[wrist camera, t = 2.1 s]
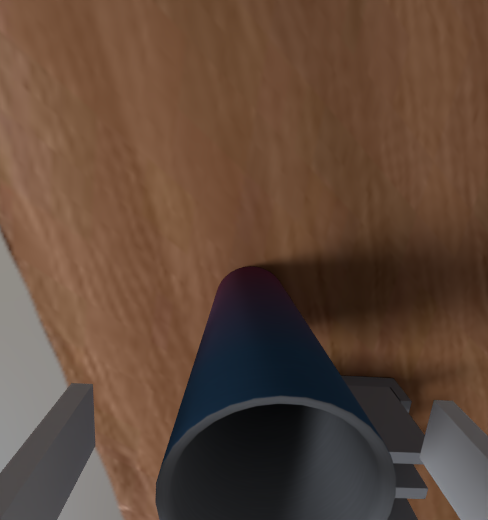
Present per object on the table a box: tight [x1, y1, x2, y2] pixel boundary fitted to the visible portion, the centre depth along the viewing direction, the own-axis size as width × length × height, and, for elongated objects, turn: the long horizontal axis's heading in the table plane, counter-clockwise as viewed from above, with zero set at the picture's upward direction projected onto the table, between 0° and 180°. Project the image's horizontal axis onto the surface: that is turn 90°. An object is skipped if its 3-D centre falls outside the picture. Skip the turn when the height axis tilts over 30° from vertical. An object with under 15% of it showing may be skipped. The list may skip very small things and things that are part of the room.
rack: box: [341, 376, 428, 520], centre depth 24 cm, size 18×13×7 cm
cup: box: [156, 266, 396, 520], centre depth 16 cm, size 7×7×15 cm
